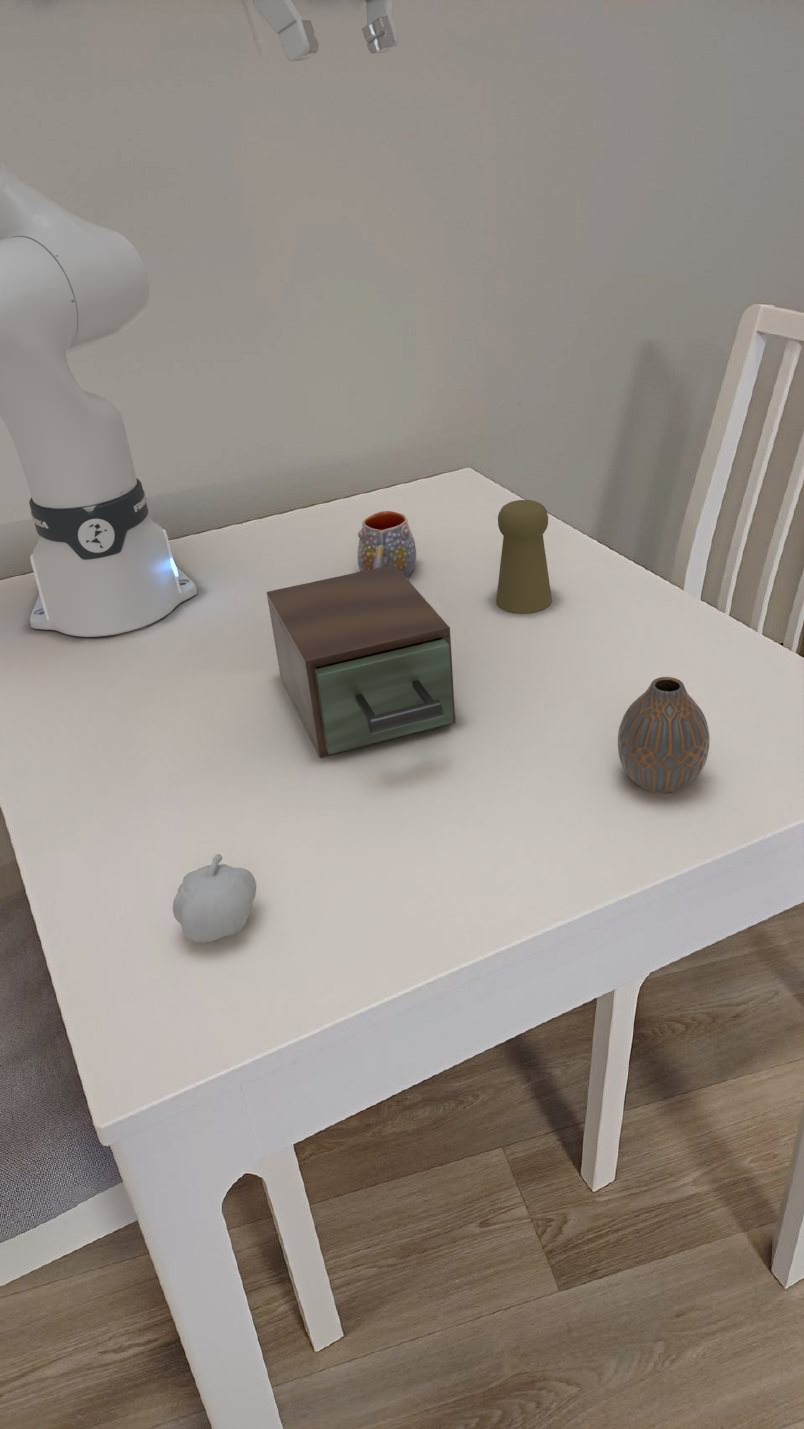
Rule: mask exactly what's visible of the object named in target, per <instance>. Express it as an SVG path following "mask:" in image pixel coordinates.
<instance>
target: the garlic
mask: <svg viewBox="0 0 804 1429" xmlns="http://www.w3.org/2000/svg"><path fill="white" fill-rule="evenodd" d="M222 861H223V856H222V854H220V853H219V854H215V855H214V857H213V858H212V861H211V863H210V864H208V865H205V866H202V867H200V868H198V869H195V870H192V871H190V872H188V873H186V874H185V875H184V877H183V879H182V883H181V884H180V885H179V887H178V889H177V893H176V894H175V897H174V899H173V903H172V912H173V917H174V919H175V920H176V921H177V922H178V923H179V924H180V925H181V926H180V927H181V930H182V932H183V934H184V936H185V937H186V938H188V939H189V940H190V941H193V942H194V943H195V942H196V943H204V944H208V943H210V942H216V941H218V940H221V939H223V938H226V937H230V936H233V935H235V934H238V933H239V932H240V931H241V930H242V929H243V928H244V926H245V925H246V924H247V921H248V918H249V916H250V914H251V911H252V909H253V904H254V901H255V898H256V895H257V882H256V879H255V876H254V875H253V873H252V872H251V871H250V870H249V869H247V868H244V867H233V866H231V865H228V864H226V863H221V862H222Z"/></svg>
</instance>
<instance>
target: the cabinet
mask: <svg viewBox="0 0 804 1429" xmlns="http://www.w3.org/2000/svg"><path fill="white" fill-rule="evenodd" d="M266 598H267V604H268V610H269V616H270V622H271V628H272V634H273V640H274V646H275V647H274V648H275V652H276V659H277V664H278V669H279V670H278V671H279V676H280V681H281V684H282V685H283V687H284V689H285V692H286V694H287V695H288V697H289V699H290V702H291V704H292V705H293V708H294V709H295V711H296V714H297V715H298V717H299V719H300V721H301V724H302V725H303V727H304V729H305V731H306V734H307V735H308V737H309V740H310V741H311V744H312V745H313V747H314V750H315V751H316V753H317V756H318V757H319V758H320V759H321V758H324V757H325V758H326V757H328V756H333V755H336V754H340V753H345V752H349V751H352V750H355V749H360V748H363V747H368V746H371V745H376V744H378V743H384V742H386V741H387V742H388V741H391V740H395V739H399V738H403V737H406V736H407V737H408V736H410V735H413V734H418V733H422V732H425V731H429V730H433V729H437V728H442V727H444V726H449V725H453V724H456V708H455V706H456V705H455V692H454V690H455V689H454V675H453V674H454V672H453V658H452V655H453V654H452V641H451V639H452V638H451V627H450V625H448V624H447V622H446V621H445V620H444V619H443V618H442V617H441V616H440V614H439V613H438V612H437V611H436V610H435V609H434V607H433V606H431V604H430V603H429V602H428V601H427V600H426V599H425V597H424V596H423V595H422V594H421V592H419V590H418V589H417V588H416V587H415V586H414V585H413V584H412V583H411V582H410V580H409V579H408V577H405V576H404V575H403V574H402V573H401V572H400V570H399V569H398V568H397V567H396V566H395V565H389V566H385V567H380V568H375V569H371V570H366V571H358V572H353V573H348V574H343V575H339V576H334V577H329V578H324V579H320V580H315V581H311V582H306V583H300V584H296V585H292V586H288V587H281V588H278V589H273V590H269V591H266ZM441 639H445V641H446V642H447V643H448V644H449V654H450V671H451V687H452V704H453V721H454V722H453V723H450V724H446V725H442V726H438V727H434V728H430V729H426V730H423V731H419V732H415V733H411V734H407V735H403V736H399V737H395V738H392V739H388V740H384V741H380V742H376V743H372V744H368V745H365V746H361V747H357V748H353V749H349V750H345V751H341V752H337V753H334V754H328V752H327V750H326V748H325V742H324V735H323V728H322V721H321V714H320V707H319V700H318V693H317V686H316V679H315V673H314V670H315V669H316V667H319V666H323V665H327V664H331V663H336V662H340V661H344V660H348V659H353V658H357V657H361V656H365V655H370V654H374V653H378V652H382V651H387V650H391V649H395V648H399V647H404V646H408V645H412V644H416V643H421V642H425V641H429V640H431V642H433V641H437V640H441Z"/></svg>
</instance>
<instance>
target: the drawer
mask: <svg viewBox="0 0 804 1429" xmlns="http://www.w3.org/2000/svg"><path fill="white" fill-rule="evenodd" d="M314 673H315V679H316V686H317V693H318V700H319V707H320V714H321V721H322V728H323V735H324V742H325V748H326V750H327V752H328V754H333V755H335V754H334V753H337V752H341V751H345V750H349V749H352V750H354V749H353V748H356V749H358V748H357V747H360V748H362V747H361V746H364V747H366V746H365V745H368V744H372V743H376V742H380V741H383V742H385V741H384V740H387V741H389V740H388V739H391V740H393V739H392V738H395V737H399V736H403V735H407V734H410V735H412V734H411V733H414V734H416V733H415V732H418V733H420V732H419V731H422V732H424V731H423V730H426V729H430V728H434V727H438V726H441V727H443V726H442V725H445V726H447V725H446V724H449V725H451V724H450V723H453V722H454V721H453V704H452V687H451V671H450V654H449V644H448V643H447V642H446V641H445V639H441V640H437V641H433V642H431V640H429V641H425V642H421V643H416V644H412V645H408V646H404V647H399V648H395V649H391V650H387V651H382V652H378V653H374V654H370V655H365V656H361V657H357V658H353V659H348V660H344V661H340V662H336V663H331V664H327V665H323V666H319V667H316V669H315V670H314ZM453 724H454V723H453ZM438 728H439V727H438ZM434 729H435V728H434ZM430 730H431V729H430ZM426 731H427V730H426ZM407 736H408V735H407ZM403 737H404V736H403ZM399 738H400V737H399ZM395 739H396V738H395ZM380 743H381V742H380ZM376 744H377V743H376ZM372 745H373V744H372ZM368 746H369V745H368ZM349 751H350V750H349ZM345 752H346V751H345ZM341 753H342V752H341ZM337 754H338V753H337Z"/></svg>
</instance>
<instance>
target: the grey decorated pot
mask: <svg viewBox="0 0 804 1429" xmlns="http://www.w3.org/2000/svg"><path fill="white" fill-rule="evenodd" d="M410 528H411V527H410V526H409V522H408V517H406V515H404V514H402V513H401V512H396V511H392V510H385V511H384V510H383V511H379V512H375V513H373V514H371V515H369V516H368V517H366V518H365V519H364V520H363V521H362V523H361V529H360V530H359V531H358V532H357V537H358V538H359V539H358V544H357V551H356V561H357V565H358V569H359V572H361V571H366V570H371V569H375V568H380V567H385V566H389V565H395V566H396V567H397V568H398V569H399V570H400V572H401V573H402V574H403V575H404V576H405V577H406V578H408V577H409V576H410V575H411V574H412V572H413V571H414V568H415V566H416V564H417V563H416V562H417V546H416V541H415V536H414V535H413V533H412V530H411V529H410Z"/></svg>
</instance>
